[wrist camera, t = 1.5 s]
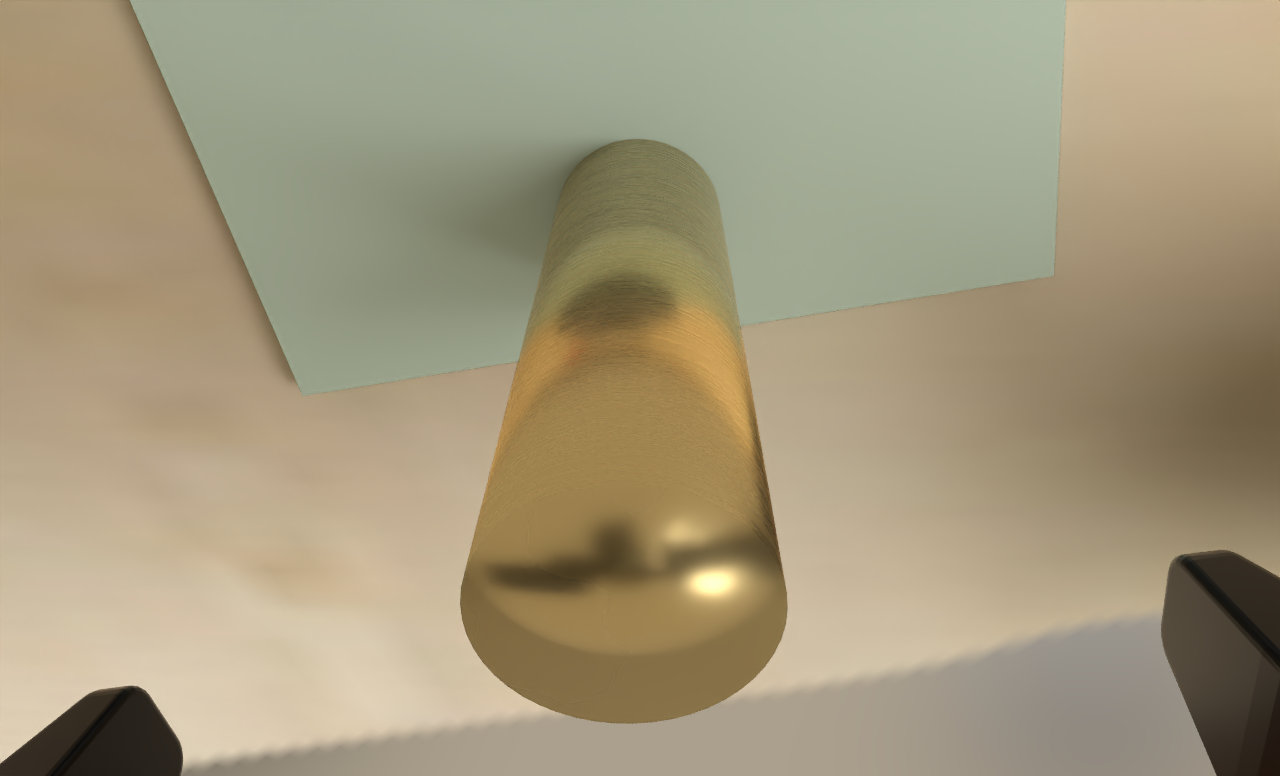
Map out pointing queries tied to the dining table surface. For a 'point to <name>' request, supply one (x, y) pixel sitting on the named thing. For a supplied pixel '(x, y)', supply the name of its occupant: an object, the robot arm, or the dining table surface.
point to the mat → (592, 118)
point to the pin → (629, 463)
